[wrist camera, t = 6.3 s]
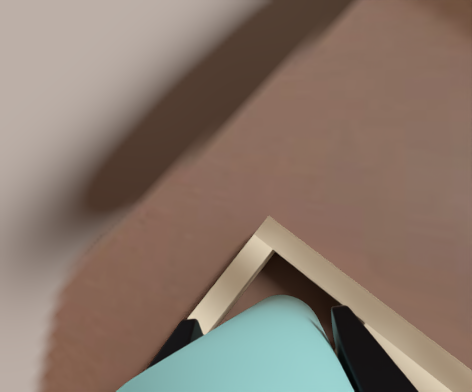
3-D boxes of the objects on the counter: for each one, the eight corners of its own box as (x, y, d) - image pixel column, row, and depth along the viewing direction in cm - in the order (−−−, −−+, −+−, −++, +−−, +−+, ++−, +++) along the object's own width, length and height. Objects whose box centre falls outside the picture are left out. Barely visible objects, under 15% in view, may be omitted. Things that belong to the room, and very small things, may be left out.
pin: (290, 395, 15) (250, 993, 2) (229, 338, 16) (-21, 557, 3) (338, 330, 15) (527, 569, 3) (275, 278, 16) (201, 278, 4)
